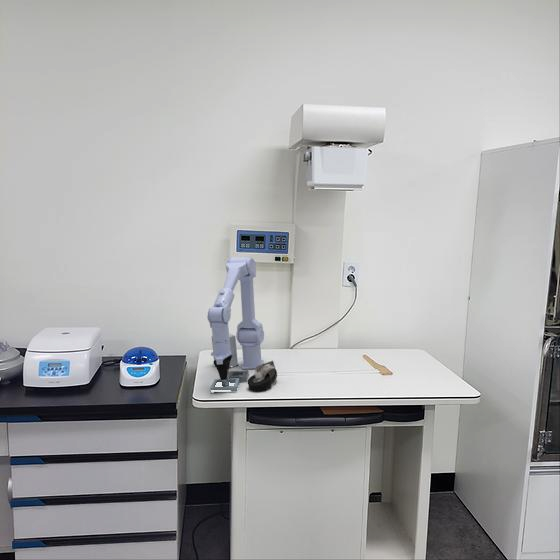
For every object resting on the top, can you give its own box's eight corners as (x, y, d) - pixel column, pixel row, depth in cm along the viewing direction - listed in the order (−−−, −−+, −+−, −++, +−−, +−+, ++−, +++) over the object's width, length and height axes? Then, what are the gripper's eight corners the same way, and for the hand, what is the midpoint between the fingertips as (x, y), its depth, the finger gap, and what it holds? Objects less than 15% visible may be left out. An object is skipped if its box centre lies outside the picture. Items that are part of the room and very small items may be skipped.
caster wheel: (253, 399, 170) (247, 386, 180) (284, 388, 172) (277, 375, 182) (248, 383, 168) (242, 370, 177) (279, 372, 170) (272, 359, 179)
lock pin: (221, 384, 178) (220, 368, 177) (230, 383, 178) (229, 367, 177) (220, 387, 175) (219, 371, 174) (229, 387, 175) (228, 371, 174)
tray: (215, 384, 181) (214, 379, 181) (239, 382, 181) (239, 378, 180) (210, 393, 172) (210, 388, 172) (236, 392, 172) (236, 386, 171)
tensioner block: (230, 376, 188) (229, 371, 188) (248, 375, 188) (248, 370, 188) (227, 382, 181) (227, 377, 181) (246, 381, 181) (246, 376, 181)
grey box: (230, 361, 206) (227, 332, 204) (238, 366, 200) (235, 335, 198) (213, 366, 202) (210, 335, 201) (221, 370, 196) (219, 339, 194)
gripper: (213, 335, 181) (216, 371, 183) (206, 346, 167) (209, 385, 169) (232, 334, 181) (235, 370, 183) (227, 345, 166) (230, 384, 168)
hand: (224, 377), depth 176 cm, fingers closed on lock pin, 3 cm apart
